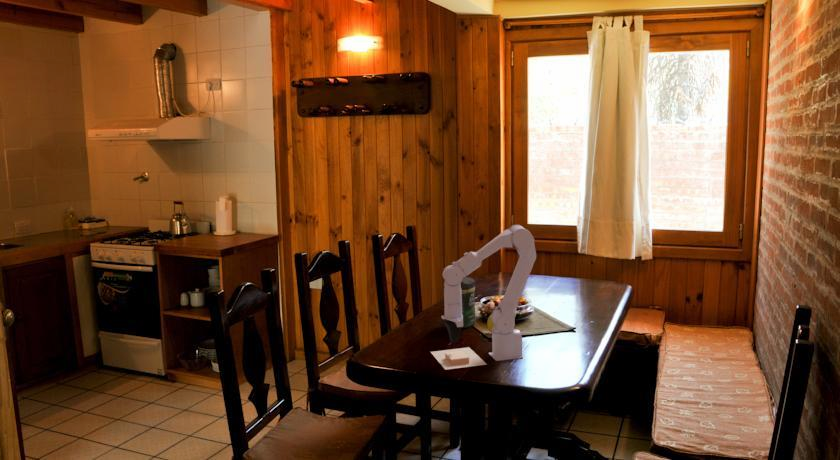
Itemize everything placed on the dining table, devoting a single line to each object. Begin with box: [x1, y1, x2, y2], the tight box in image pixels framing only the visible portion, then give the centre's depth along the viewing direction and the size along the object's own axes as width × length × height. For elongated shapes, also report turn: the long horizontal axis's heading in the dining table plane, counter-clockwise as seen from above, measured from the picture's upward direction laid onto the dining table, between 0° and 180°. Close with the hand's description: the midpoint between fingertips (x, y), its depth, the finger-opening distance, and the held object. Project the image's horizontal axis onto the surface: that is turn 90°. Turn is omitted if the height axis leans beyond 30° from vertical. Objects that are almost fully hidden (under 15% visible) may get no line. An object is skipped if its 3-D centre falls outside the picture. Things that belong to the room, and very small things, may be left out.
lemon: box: [486, 314, 494, 333], centre depth 247 cm, size 6×6×8 cm
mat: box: [430, 346, 488, 371], centre depth 223 cm, size 14×18×1 cm
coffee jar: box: [461, 276, 477, 328], centre depth 259 cm, size 10×8×19 cm
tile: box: [445, 351, 469, 365], centre depth 220 cm, size 6×2×7 cm
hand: (454, 342), depth 222 cm, fingers closed
